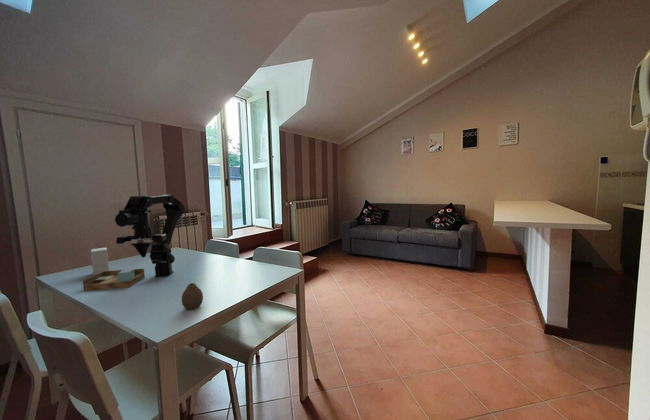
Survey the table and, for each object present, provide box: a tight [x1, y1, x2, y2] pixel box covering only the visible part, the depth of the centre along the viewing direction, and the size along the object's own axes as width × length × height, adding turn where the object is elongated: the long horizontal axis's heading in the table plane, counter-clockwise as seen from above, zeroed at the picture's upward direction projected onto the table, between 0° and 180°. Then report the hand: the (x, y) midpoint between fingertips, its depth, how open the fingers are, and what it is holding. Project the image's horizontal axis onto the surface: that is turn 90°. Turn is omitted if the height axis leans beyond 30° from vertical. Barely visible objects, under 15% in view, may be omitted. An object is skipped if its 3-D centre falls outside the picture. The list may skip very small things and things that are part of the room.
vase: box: [181, 282, 204, 311], centre depth 95 cm, size 7×7×9 cm
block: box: [117, 268, 135, 282], centre depth 119 cm, size 4×4×4 cm
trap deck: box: [82, 268, 146, 291], centre depth 121 cm, size 18×13×4 cm
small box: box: [90, 247, 110, 276], centre depth 136 cm, size 8×6×13 cm
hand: (143, 257), depth 119 cm, fingers closed
